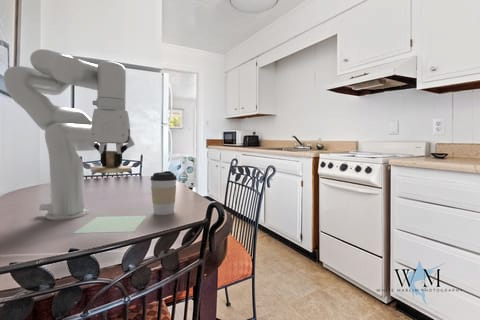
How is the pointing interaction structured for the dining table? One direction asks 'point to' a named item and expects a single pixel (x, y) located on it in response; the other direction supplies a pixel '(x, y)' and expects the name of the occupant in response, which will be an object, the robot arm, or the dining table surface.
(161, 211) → the coffee cup
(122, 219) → the mat
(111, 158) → the lid
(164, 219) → the dining table surface
